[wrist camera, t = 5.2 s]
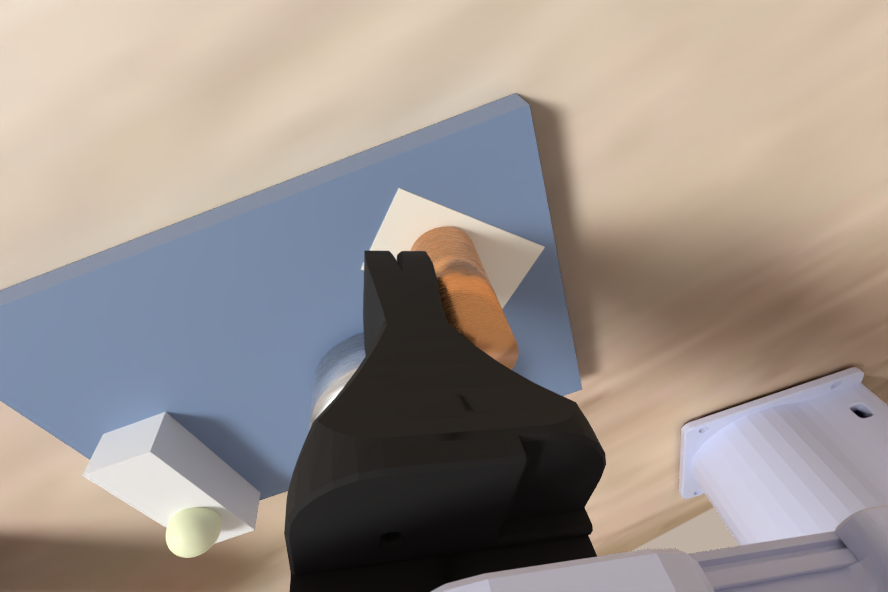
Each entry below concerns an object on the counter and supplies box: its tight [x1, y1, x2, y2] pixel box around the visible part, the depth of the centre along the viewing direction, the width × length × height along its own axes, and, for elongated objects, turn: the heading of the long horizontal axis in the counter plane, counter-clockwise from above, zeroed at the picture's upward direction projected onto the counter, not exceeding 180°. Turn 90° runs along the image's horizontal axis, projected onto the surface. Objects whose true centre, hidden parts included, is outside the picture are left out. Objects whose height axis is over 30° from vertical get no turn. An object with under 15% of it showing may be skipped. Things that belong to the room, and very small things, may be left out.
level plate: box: [0, 93, 582, 558], centre depth 15 cm, size 18×12×4 cm, turn 108°
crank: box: [309, 227, 519, 430], centre depth 14 cm, size 9×5×4 cm, turn 158°
